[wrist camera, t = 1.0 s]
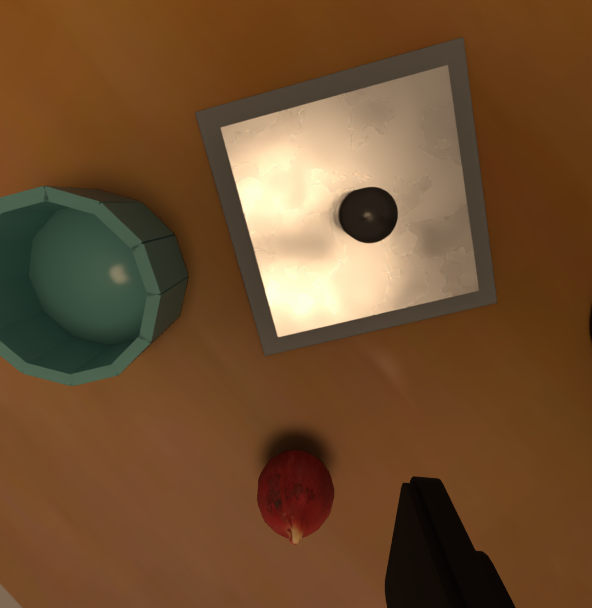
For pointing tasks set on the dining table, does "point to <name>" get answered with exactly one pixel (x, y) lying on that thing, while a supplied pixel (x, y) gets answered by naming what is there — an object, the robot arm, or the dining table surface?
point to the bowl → (84, 282)
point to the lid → (356, 202)
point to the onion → (295, 494)
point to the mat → (326, 88)
